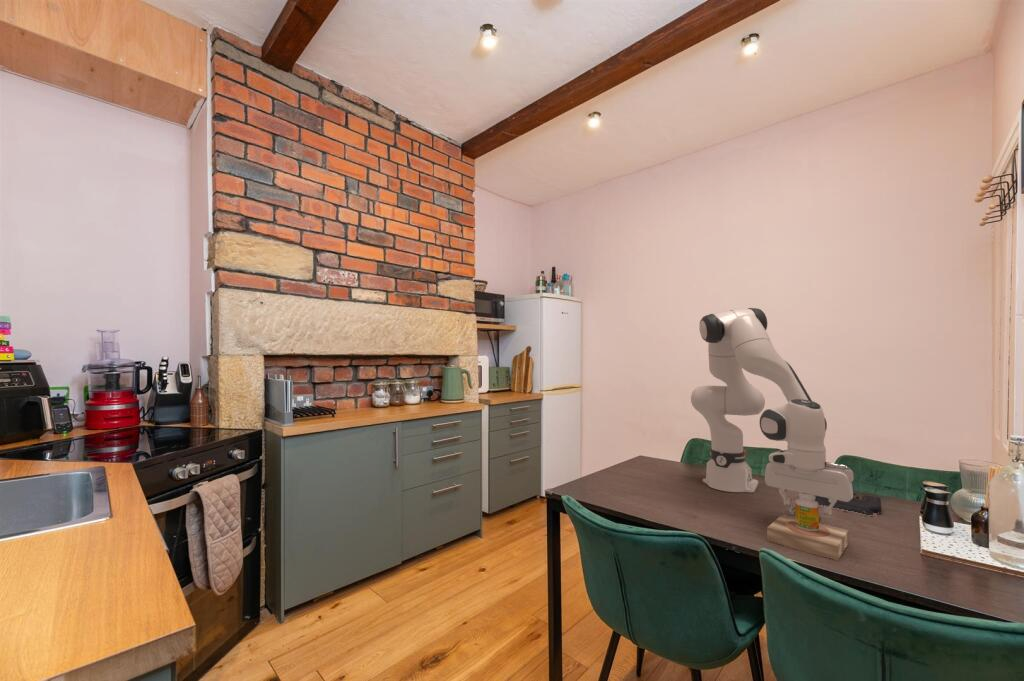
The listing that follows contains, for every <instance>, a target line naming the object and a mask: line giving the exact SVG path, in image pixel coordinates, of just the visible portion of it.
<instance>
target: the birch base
mask: <svg viewBox="0 0 1024 681" xmlns="http://www.w3.org/2000/svg"><path fill="white" fill-rule="evenodd" d="M766 532H767V533H766V535H767V536H766V539H767V540H768V541H767V540H766V541H767V542H769V541H771V542H770V543H773V542H774V543H773V544H776V543H777V544H776V545H780V544H781V545H780V546H783V545H784V546H785V547H788V548H791V549H794V550H799V551H801V552H805V553H809V554H811V555H816V556H818V557H819V556H820V557H822V556H823V558H825V557H827V558H826V559H829V558H831V559H830V560H832V559H835V560H834V561H836V560H838V559H839V558H840V559H841V557H842V556H841V554H842V553H843V554H844V552H845V551H846V549H847V548H848V546H849V544H850V539H849V538H850V536H849V529H846V528H845V529H844V528H841V527H837V526H836V527H835V526H832V525H828V524H823V523H821V522H819V530H818V531H806V530H803V529H800V528H798V527H797V526H796V518H795V517H791V515H786V514H781V515H779V517H777V518H776V519H775V520H774V521H773V522H771V524H769V525H768V526H767V527H766ZM848 543H849V544H848ZM847 545H848V546H847ZM846 547H847V548H846ZM845 548H846V549H845ZM844 550H845V551H844ZM843 551H844V552H843ZM843 554H842V555H843ZM840 556H841V557H840ZM840 559H839V560H840ZM839 560H838V561H839Z"/></svg>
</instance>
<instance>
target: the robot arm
mask: <svg viewBox="0 0 1024 681" xmlns="http://www.w3.org/2000/svg"><path fill="white" fill-rule="evenodd" d="M767 329H768V318H767V316H766V313H765V312H764V311H763V310H762V309H761V308H756V307H748V308H739V309H738V308H736V309H730V310H724V311H722V312H721V311H720V312H716V313H709V314H706V315H704V316H702V317H701V319H700V320H699V333H700V336H701V338H702V340H703V341H705V342H706V343H707V344H708V350H707V352H708V367H709V368H708V369H709V372H710V374H711V375H712V376H713V377H714V378H715V379H717V380H720V381H722V382H724V383H725V385H702V386H697V387H695V388H694V389H693V391H692V393H691V395H690V402H691V406H692V407H693V408H694V410H696V411H697V412H698V413H699V414H700V415H702V417H703V418H704V419H705V421H706V422H707V424H708V426H709V431H710V440H711V448H710V449H709V450H710V451H709V456H710V457H709V458H710V459H709V460H708V461H707V462H706V471H705V473H706V475H705V478H702V482H703V483H704V484H706V485H707V486H708V487H710V488H711V489H714V490H717V491H718V490H719V491H722V492H727V493H728V492H729V493H755V492H756V489H757V487H758V485H759V480H757V479H755V478H753V476H752V475H753V474H752V472H753V471H752V468H751V467H750V465H749V464H748V463H747V462H746V456H747V450H745V449H744V434H743V431H742V430H741V428H740V427H738V426H737V425H736V424H734V423H732V422H730V421H728V420H727V418H726V415H728V416H731V415H732V416H741V417H742V416H745V417H747V416H755V415H759V414H761V415H760V417H759V428H760V430H761V433H762V434H763V435H764V436H765V438H767V439H768V440H770V441H775V442H784V441H785V442H787V449H784V450H778V451H773V452H771V453H770V454H769V455H768V461H769V462H768V463H767V464H766V467H765V470H764V483H765V485H766V486H768V487H770V488H777V489H778V492H779V494H780V496H781V498H782V499H783V505H784V506H787V507H788V506H790V507H791V506H792V498H789V497H788V494H787V492H788V491H791V492H795V493H796V492H797V493H798V492H801V493H806V494H810V495H815V496H820V497H825V498H829V502H831V504H830V505H829V506H825V507H823V514H824V515H828V516H831V515H832V514H833V513H832V512H833V511H832V510H833V509H832V507H833V506H834V504H835V503H836V502H837V500H840V501H845V502H848V501H850V500H851V499H852V498H853V493H854V490H853V489H854V488H853V484H852V482H853V481H854V478H855V477H854V476H855V475H854V471H853V470H852V469H851V468H850V467H848V466H847V465H846V464H841V463H840V464H838V463H834V462H828V461H827V459H826V458H827V454H826V453H827V452H826V451H827V450H826V446H825V442H824V441H825V438H826V433H827V432H826V431H827V429H828V428H827V427H828V426H827V425H828V424H827V419H826V417H825V413H824V410H823V407H822V406H821V404H819V403H818V402H816V401H813V400H812V398H811V397H810V395H809V393H808V392H807V390H806V388H805V386H804V385H803V383H802V381H801V380H800V378H799V377H798V374H797V373H796V371H795V370H794V368H793V367H792V366H791V364H789V362H788V361H786V360H785V359H784V358H783V357H782V356H781V355H780V354H779V352H778V351H777V350H776V349H775V347H774V345H773V343H772V341H771V339H770V336H769V334H768V332H767ZM743 370H744V371H746V372H747V373H749V374H752V375H755V376H759V377H762V378H764V379H767V380H768V381H771V382H773V383H774V384H776V385H777V386H778V387H779V388H780V390H781V391H782V394H783V396H784V397H785V399H786V401H787V403H786V404H784V405H781V406H778V407H773V408H768V409H765V405H766V400H765V396H764V394H763V392H761V391H760V390H759V389H758V388H757V387H755V386H754V385H752V384H751V383H750V382H749V381H748V380H747V378H746V376H745V374H744V371H743ZM764 409H765V410H764ZM763 410H764V411H763ZM762 411H763V412H762Z"/></svg>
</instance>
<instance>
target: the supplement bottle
mask: <svg viewBox="0 0 1024 681" xmlns="http://www.w3.org/2000/svg"><path fill="white" fill-rule="evenodd" d="M797 497H798V498H796V499H795V501H794V503H795V510H796V526H797V527H798V528H800V529H803V530H806V531H818V530H819V523H820V519H819V517H820V514H819V509H820V506H819V504H818V502H817V501H815V499H816V496H815V495H810V494H806V493H801V492H797Z"/></svg>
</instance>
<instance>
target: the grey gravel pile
mask: <svg viewBox="0 0 1024 681" xmlns="http://www.w3.org/2000/svg"><path fill="white" fill-rule="evenodd" d="M788 511H789V514H790V516H791V517H795V518H796V510H795V502H794V503H793V505H792V504H791V506H790V508H788ZM820 514H821V510H820V508H819V515H820Z"/></svg>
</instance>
